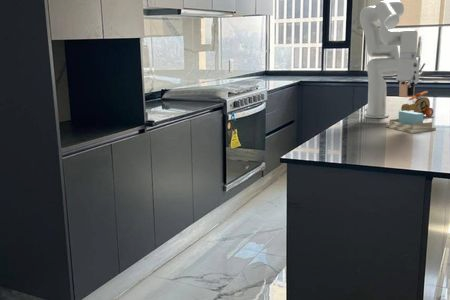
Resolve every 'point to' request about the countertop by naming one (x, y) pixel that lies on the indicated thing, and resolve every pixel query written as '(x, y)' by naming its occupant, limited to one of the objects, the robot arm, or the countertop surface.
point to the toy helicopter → (419, 105)
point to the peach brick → (404, 90)
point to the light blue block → (410, 117)
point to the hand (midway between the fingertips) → (406, 94)
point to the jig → (410, 126)
